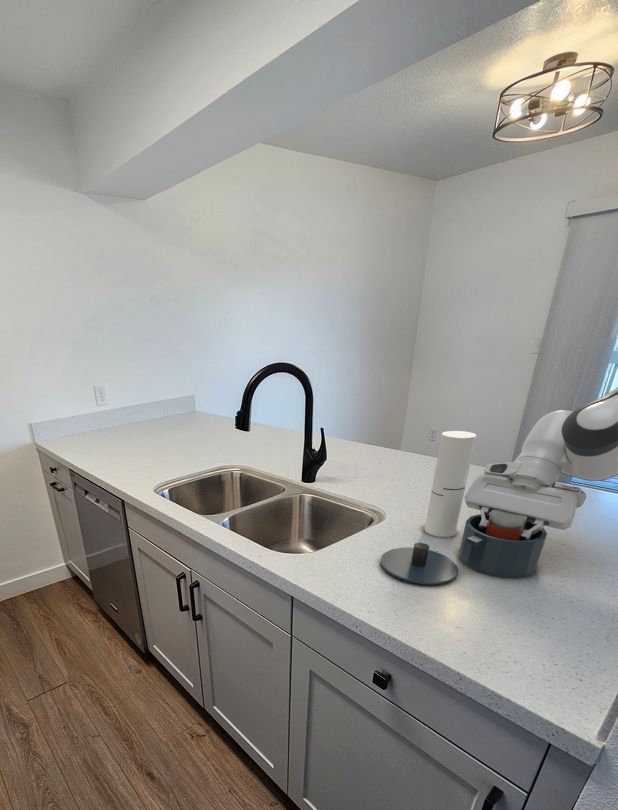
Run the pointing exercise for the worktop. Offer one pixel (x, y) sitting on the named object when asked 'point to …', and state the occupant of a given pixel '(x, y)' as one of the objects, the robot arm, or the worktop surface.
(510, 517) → the can
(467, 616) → the worktop surface
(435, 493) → the cylindrical container
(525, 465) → the robot arm
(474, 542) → the pot
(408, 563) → the pot lid
